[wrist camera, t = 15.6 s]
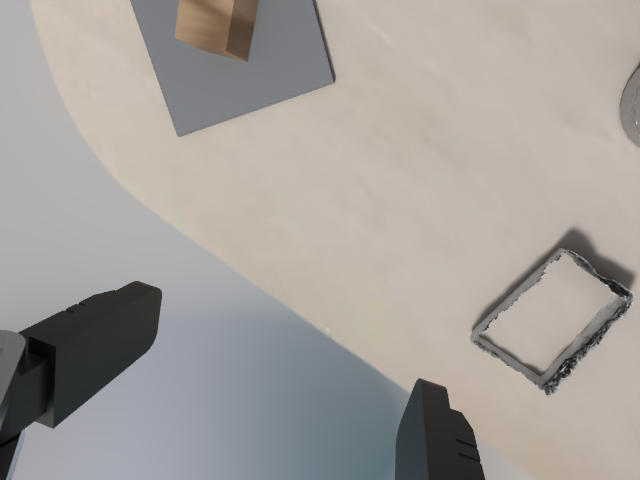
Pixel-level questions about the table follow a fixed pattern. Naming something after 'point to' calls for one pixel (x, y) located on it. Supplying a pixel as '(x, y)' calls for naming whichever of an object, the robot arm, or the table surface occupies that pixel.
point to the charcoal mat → (235, 63)
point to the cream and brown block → (217, 26)
